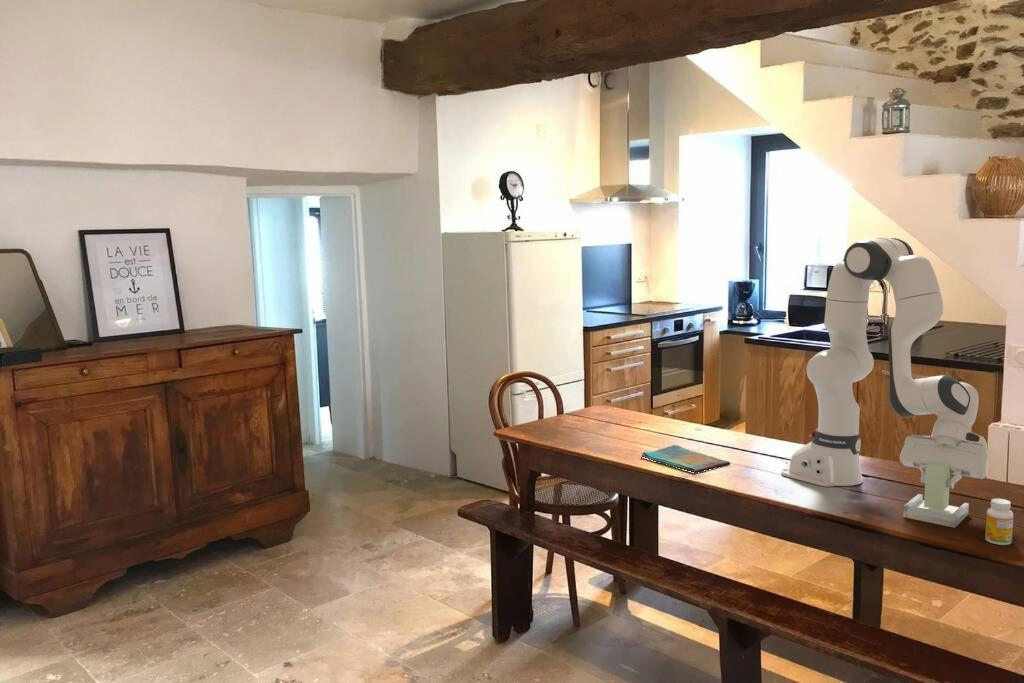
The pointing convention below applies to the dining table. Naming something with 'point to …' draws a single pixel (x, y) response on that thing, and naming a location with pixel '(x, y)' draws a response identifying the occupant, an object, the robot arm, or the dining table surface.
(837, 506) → the dining table surface
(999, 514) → the supplement bottle
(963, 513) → the holder
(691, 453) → the dish towel
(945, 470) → the green block
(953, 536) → the dining table surface
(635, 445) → the dining table surface
